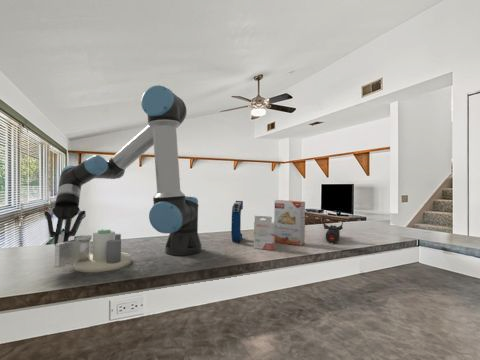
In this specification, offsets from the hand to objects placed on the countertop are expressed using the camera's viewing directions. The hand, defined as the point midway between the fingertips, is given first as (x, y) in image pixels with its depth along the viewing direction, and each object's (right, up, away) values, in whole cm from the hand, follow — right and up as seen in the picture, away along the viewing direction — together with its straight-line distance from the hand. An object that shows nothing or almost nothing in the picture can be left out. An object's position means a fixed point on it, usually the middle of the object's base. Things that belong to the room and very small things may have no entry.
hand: (59, 253), depth 89 cm
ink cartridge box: (+70, -7, +35) cm, 78 cm away
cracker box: (+83, -7, +45) cm, 95 cm away
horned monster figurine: (+108, -8, +55) cm, 122 cm away
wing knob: (+4, -3, +1) cm, 5 cm away
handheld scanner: (+57, -7, +50) cm, 76 cm away
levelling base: (+11, -6, +8) cm, 14 cm away
